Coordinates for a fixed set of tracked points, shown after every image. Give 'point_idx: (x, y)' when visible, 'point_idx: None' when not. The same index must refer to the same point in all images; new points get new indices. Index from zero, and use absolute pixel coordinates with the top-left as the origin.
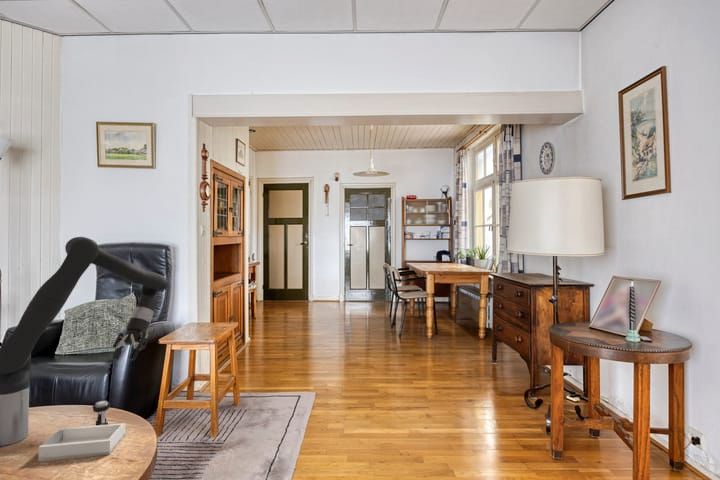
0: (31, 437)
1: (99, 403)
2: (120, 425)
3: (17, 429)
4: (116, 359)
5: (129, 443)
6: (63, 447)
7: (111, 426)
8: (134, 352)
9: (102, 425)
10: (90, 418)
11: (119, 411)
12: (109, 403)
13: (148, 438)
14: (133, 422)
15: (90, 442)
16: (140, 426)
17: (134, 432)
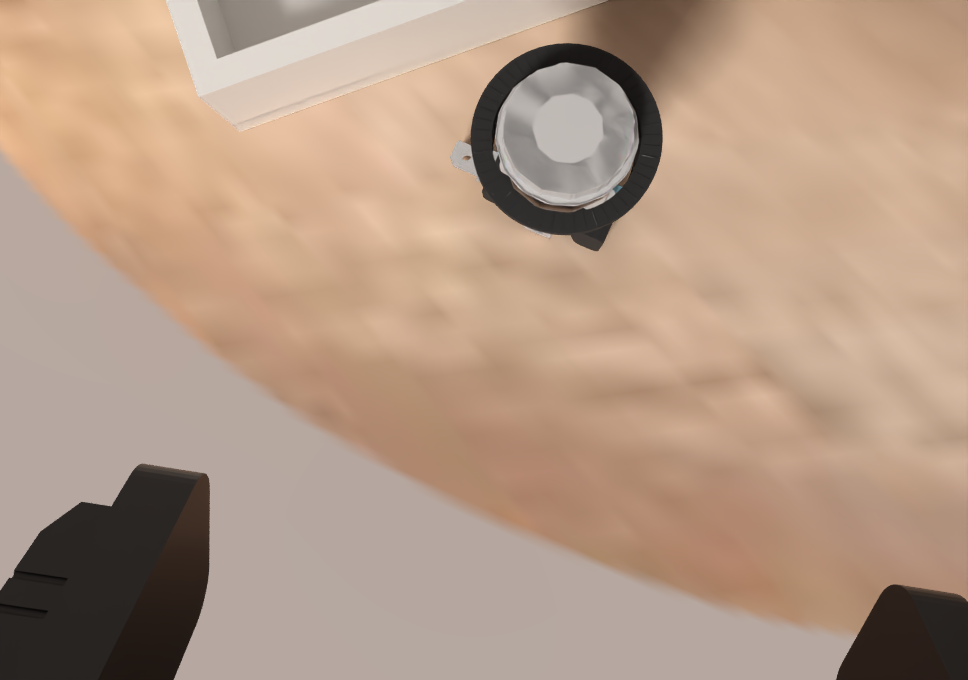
0: None
1: (568, 95)
2: (226, 59)
3: None
4: (850, 654)
5: (111, 25)
6: None
7: (305, 31)
8: (4, 657)
9: (396, 14)
10: (863, 396)
11: (689, 586)
12: (505, 201)
13: (5, 125)
14: (356, 379)
15: None
16: (230, 315)
17: (204, 202)
